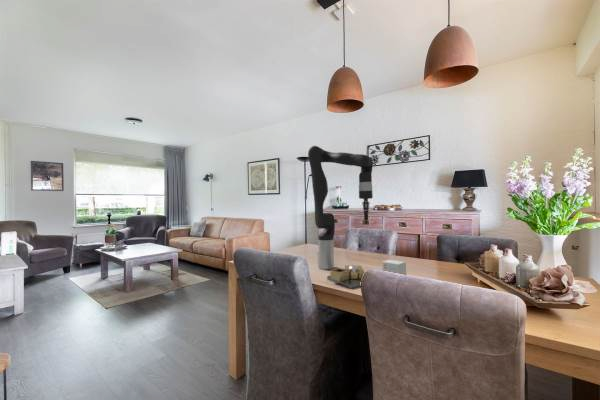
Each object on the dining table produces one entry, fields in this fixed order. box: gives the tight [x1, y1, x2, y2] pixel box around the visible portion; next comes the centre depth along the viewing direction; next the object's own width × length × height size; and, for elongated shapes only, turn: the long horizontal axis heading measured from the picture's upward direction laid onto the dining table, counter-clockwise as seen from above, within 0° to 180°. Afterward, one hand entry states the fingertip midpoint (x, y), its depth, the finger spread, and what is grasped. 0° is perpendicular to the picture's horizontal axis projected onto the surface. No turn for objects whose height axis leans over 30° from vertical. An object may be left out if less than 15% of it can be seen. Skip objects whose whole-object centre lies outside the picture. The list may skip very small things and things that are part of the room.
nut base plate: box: [326, 265, 361, 290], centre depth 132 cm, size 18×17×6 cm
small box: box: [382, 259, 407, 276], centre depth 116 cm, size 8×6×13 cm
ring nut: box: [329, 265, 365, 281], centre depth 132 cm, size 18×10×4 cm, turn 126°
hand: (366, 220), depth 149 cm, fingers closed
